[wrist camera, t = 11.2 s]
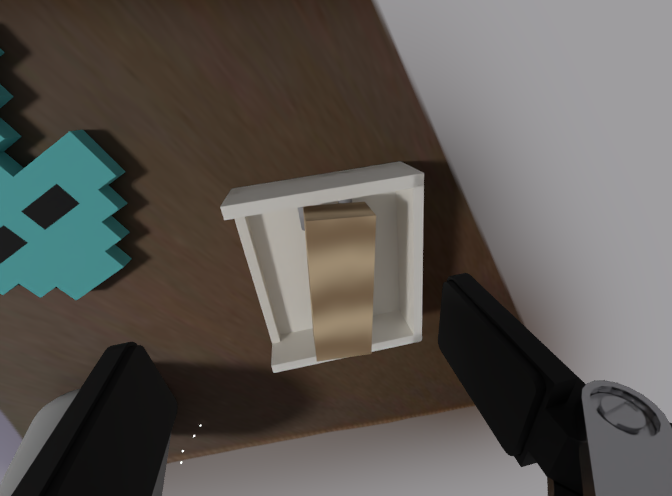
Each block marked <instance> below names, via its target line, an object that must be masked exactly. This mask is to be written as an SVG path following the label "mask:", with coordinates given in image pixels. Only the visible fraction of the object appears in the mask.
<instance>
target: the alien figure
mask: <svg viewBox="0 0 672 496" xmlns="http://www.w3.org/2000/svg"><path fill="white" fill-rule="evenodd" d="M4 53H5V52H4V51H3V50H2V49H1V48H0V56H1V55H3V54H4ZM12 98H13V96H12V95H11V94H10V93H9V92H8V91H7V90H6V89H5V88H4V87H3V86H2V85H1V84H0V108H1V107H2V106H3V105H5V104H6V103H7V102H8V101H9V100H11V99H12ZM21 137H22V136H21V135H20V134H18V133H17V132H16V131H15V130H14V129H13V128H12V127H10V126H9V125H8V124H7V123H6V122H5V121H4V120H3V119H1V118H0V294H2V295H4V294H5V293H7V292H8V291H10V290H11V289H12V288H14V287H15V286H17V285H18V284H20V285H22V286H23V287H25V288H26V289H28V290H29V291H31V292H32V293H34V294H35V295H37V296H38V297H40V298H41V297H42V296H44V295H45V294H46V293H48V292H49V291H51V290H52V289H53V288H55V287H58V288H59V289H60V290H62V291H63V292H65V293H66V294H68V295H69V296H71V297H72V298H73V299H75V300H78V299H79V298H81V297H82V296H83V295H85V294H86V293H88V292H89V291H90V290H92V289H93V288H95V287H96V286H98V285H99V284H100V283H102V282H103V281H105V280H106V279H107V278H109V277H110V276H112V275H113V274H114V273H116V272H117V271H119V270H120V269H122V268H123V267H124V266H125V265H126V264H127V263H128V262H129V261H130V260H131V259H132V258H130V257H129V256H128V255H127V254H126V253H125V252H123V251H122V250H121V249H120V248H119V247H117V246H116V245H115V244H116V243H117V242H118V241H120V240H121V239H122V238H124V237H125V236H126V235H127V234H128V233H130V232H129V231H128V230H127V229H126V228H125V227H124V226H123V225H121V224H120V223H119V222H118V221H117V220H116V219H115V218H113V217H112V216H111V215H113V214H114V213H116V212H117V211H118V210H120V209H121V208H122V207H124V206H125V205H126V204H128V203H127V202H126V201H125V200H124V199H123V198H122V197H121V196H120V195H119V194H117V193H116V192H115V191H114V190H113V189H112V188H111V187H110V186H109V184H110V183H112V182H113V181H114V180H116V179H117V178H118V177H120V176H121V175H122V174H124V173H125V171H124V170H123V169H122V168H121V167H120V166H119V165H118V164H117V163H116V162H115V161H114V160H113V159H112V158H111V157H110V156H109V155H108V154H107V153H106V152H105V151H104V150H103V149H102V148H101V147H100V146H99V145H98V144H97V143H96V142H95V141H94V140H93V139H92V138H91V137H90V136H89V135H88V134H87V133H86V132H85V131H84V130H76V131H70V132H68V133H67V134H66V135H65V136H63V137H62V138H61V139H60V140H58V141H57V142H56V143H55V144H53V145H52V146H51V147H50V148H49V149H47V150H46V151H45V152H44V153H42V154H41V155H40V156H39V157H37V158H36V159H35V160H34V161H32V162H31V163H30V164H29V165H27V166H26V167H25V168H23V167H22V166H21V165H20V164H18V163H17V162H16V161H15V160H14V159H12V158H11V157H10V156H9V155H8V154H6V153H5V152H4V151H5V150H6V149H7V148H9V147H10V146H11V145H12V144H13V143H15V142H16V141H17V140H18V139H19V138H21Z"/></svg>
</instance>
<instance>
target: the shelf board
mask: <svg viewBox="0 0 672 496" xmlns="http://www.w3.org/2000/svg"><path fill="white" fill-rule="evenodd" d="M303 214H304V227H305V239H306V251H307V263H308V275H309V288H310V300H311V312H312V324H313V336H314V344H315V352H316V360H317V362H318V361H325V360H332V359H338V358H345V357H352V356H359V355H366V354H371V351H372V322H373V294H374V265H375V237H376V215H375V213H374V212H373V211H372V210H371V209H370V207H369V206H368V205H367V204H366V202H353V203H340V204H327V205H313V206H305V207H303Z"/></svg>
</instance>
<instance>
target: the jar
mask: <svg viewBox="0 0 672 496" xmlns="http://www.w3.org/2000/svg"><path fill="white" fill-rule="evenodd" d="M80 389H81V388H80ZM80 389H77V390H74V391H71V392H68V393H66V394H64V395H61V396H60V397H58V398H56V399H55V400H53V401H52V402H50V403H49V404H47V405H46V406H44V407H43V408H42V409H41V410H40V411H39V412H38V413H37V415H36V416H35V418H34V419H33V421H32V423H31V425H30V427H29V429H28V431H27V433H26V435H25V436H24V438H23V440H22V442H21V444H20V446H19V448H18V450H17V452H16V454H15V456H14V458H13V460H12V462H11V464H10V466H9V468H8V470H7V472H6V474H5V476H4V478H3V480H2V482H1V484H0V496H11V495H12V493H13V492H14V490H15V489H16V487H17V486H18V484H19V483H20V481H21V479H22V478H23V476H24V475H25V473H26V472H27V470H28V469H29V467H30V466H31V464H32V463H33V461H34V459H35V458H36V456H37V455H38V453H39V452H40V450H41V449H42V447H43V446H44V444H45V443H46V441H47V439H48V438H49V436H50V435H51V433H52V432H53V430H54V429H55V427H56V426H57V424H58V423H59V421H60V419H61V418H62V416H63V415H64V413H65V412H66V410H67V409H68V407H69V406H70V404H71V403H72V401H73V399H74V398H75V396H76V395H77V393H78V392H79V390H80ZM199 426H200V427H201V425H199ZM170 437H171V434H170ZM193 437H195V435H193ZM169 444H170V438H169V441H168V444H167V447H166V451H165V454H164V457H163V461H162V464H161V467H160V471H159V474H158V477H157V481H156V484H155V487H154V490H153V494H152V496H162V490H163V484H164V476H165V470H166V464H167V457H168V450H169ZM183 452H184V450H182V453H183ZM180 464H182V461H181V462H180Z"/></svg>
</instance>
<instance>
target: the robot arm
mask: <svg viewBox="0 0 672 496" xmlns="http://www.w3.org/2000/svg"><path fill="white" fill-rule="evenodd" d="M438 344H439V347H440V350H441V352H442V353H443V355H444V356H445V358H446V360H447V361H448V363H449V364H450V366H451V367H452V369H453V371H454V372H455V374H456V375H457V377H458V378H459V380H460V382H461V383H462V385H463V386H464V388H465V389H466V391H467V393H468V394H469V396H470V397H471V399H472V400H473V402H474V404H475V405H476V407H477V408H478V410H479V411H480V413H481V414H482V416H483V418H484V419H485V421H486V422H487V424H488V425H489V427H490V429H491V430H492V432H493V433H494V435H495V436H496V438H497V440H498V441H499V443H500V444H501V446H502V448H503V449H504V450H505V452H506V453H507V454H508V455H510V456H514V457H515V458H516V460H517V462H518V463H519V465H520V466H521V467H523V466H526V465H530V464H533V463H538V465H539V466H540V467H541V469H542V470H543V472H544V473H545V475H546V476H547V483H548V496H672V423H669V421H668V420H667V418H666V416H665V414H664V413H663V412H662V411H661V410H660V409H659V408H658V407H657V406H656V405H655V404H654V403H653V402H652V401H650V400H649V399H648V398H646V397H645V396H644V395H642V394H640V393H639V392H637V391H635V390H633V389H631V388H629V387H627V386H624V385H621V384H618V383H615V382H610V381H605V380H603V381H592V382H590V383H587V384H585V383H584V382H583V381H582V380H581V379H580V378H579V377H577V376H576V375H575V374H574V373H573V372H572V371H571V370H570V369H569V368H568V367H567V366H566V365H565V364H564V363H563V362H561V360H559V359H558V358H557V357H556V356H555V355H554V354H553V353H552V352H551V351H550V350H549V349H548V348H547V347H546V346H545V345H544V344H542V343H541V341H539V340H538V339H537V338H536V337H535V336H534V335H533V334H532V333H531V332H530V331H529V330H528V329H527V328H526V327H525V326H524V325H523V324H521V323H520V322H519V321H518V320H517V319H516V318H515V317H514V316H513V315H512V314H511V313H510V312H509V311H508V310H506V309H505V308H504V307H503V306H502V305H501V304H500V303H499V302H498V301H497V300H496V299H495V298H494V297H493V296H492V295H491V294H490V293H489V292H487V291H486V290H485V289H484V288H483V287H482V286H481V285H480V284H479V283H478V282H477V281H476V280H475V279H474V278H473V277H472V276H471V275H469V274H468V273H463V274H459V275H454V276H450V277H448V279H447V282H444V283H443V289H442V300H441V312H440V323H439V334H438ZM177 408H178V407H177V401H176V399H175V397H174V396H173V394H172V393H171V391H170V389H169V388H168V386H167V384H166V383H165V381H164V380H163V378H162V376H161V375H160V373H159V371H158V370H157V368H156V367H155V365H154V363H153V362H152V360H151V358H150V357H149V355H148V354H147V352H146V350H145V349H144V347H143V346H141V345H137V344H136V343H135V342H128V343H123V344H118V345H113V346H110V347H108V348H107V349H106V350H105V352H104V353H103V355H102V356H101V358H100V359H99V361H98V363H97V364H96V366H95V367H94V369H93V370H92V372H91V373H90V375H89V376H88V378H87V379H86V381H85V383H84V384H83V386H82V387H81V389H80V390H79V392H78V393H77V395H76V396H75V398H74V399H73V401H72V403H71V404H70V406H69V407H68V409H67V410H66V412H65V413H64V415H63V416H62V418H61V419H60V421H59V423H58V424H57V426H56V427H55V429H54V430H53V432H52V433H51V435H50V436H49V438H48V439H47V441H46V443H45V444H44V446H43V447H42V449H41V450H40V452H39V453H38V455H37V456H36V458H35V459H34V461H33V463H32V464H31V466H30V467H29V469H28V470H27V472H26V473H25V475H24V476H23V478H22V479H21V481H20V483H19V484H18V486H17V487H16V489H15V490H14V492H13V493H12V495H11V496H152V494H153V490H154V487H155V484H156V481H157V477H158V474H159V471H160V467H161V464H162V461H163V457H164V454H165V451H166V447H167V444H168V441H169V438H170V434H171V431H172V428H173V424H174V421H175V418H176V414H177Z"/></svg>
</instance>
